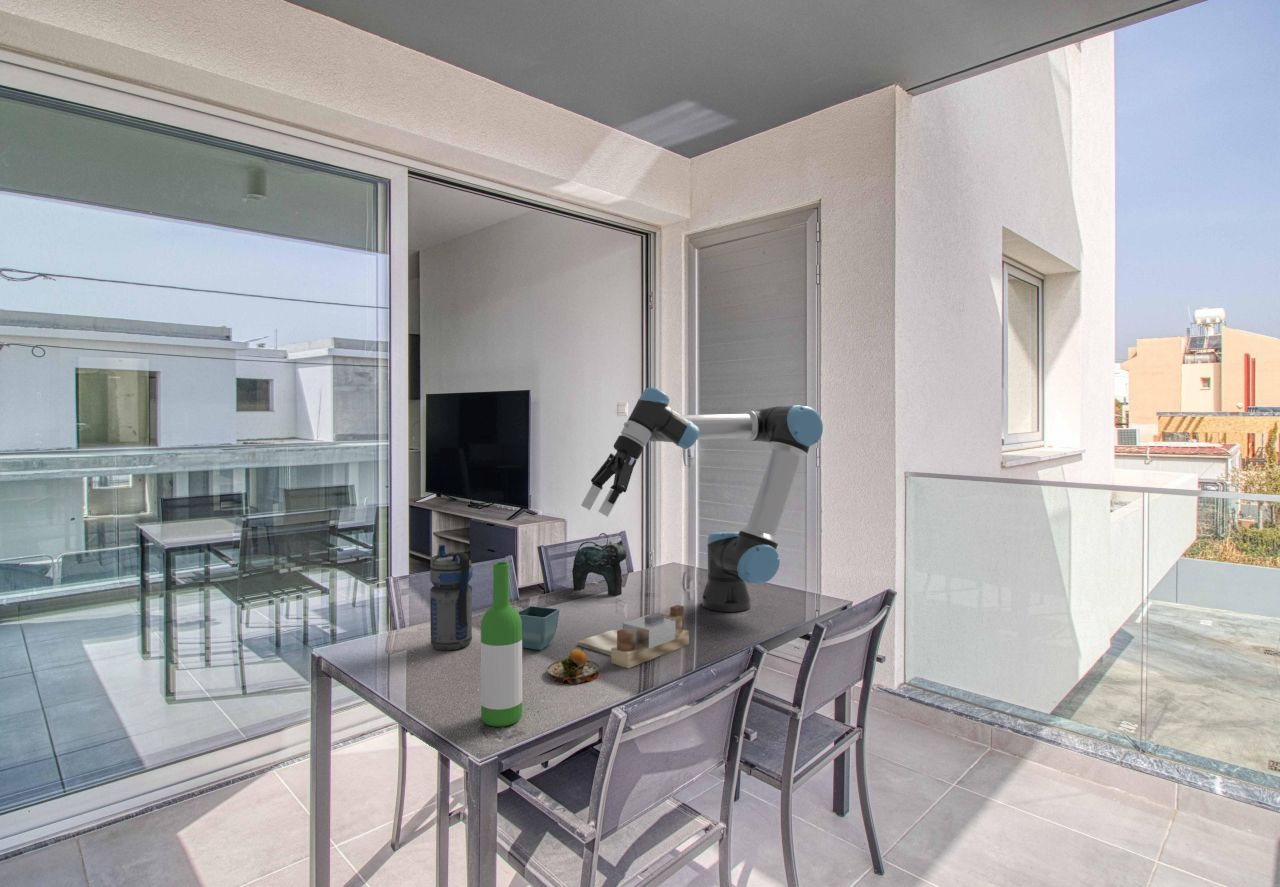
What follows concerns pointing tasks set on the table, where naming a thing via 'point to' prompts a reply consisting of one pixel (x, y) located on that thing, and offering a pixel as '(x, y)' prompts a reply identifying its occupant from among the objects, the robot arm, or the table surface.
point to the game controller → (600, 565)
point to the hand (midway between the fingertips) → (593, 511)
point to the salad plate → (574, 669)
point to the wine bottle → (501, 655)
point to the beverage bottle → (450, 600)
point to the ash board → (601, 642)
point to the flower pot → (538, 626)
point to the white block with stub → (651, 630)
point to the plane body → (634, 655)
